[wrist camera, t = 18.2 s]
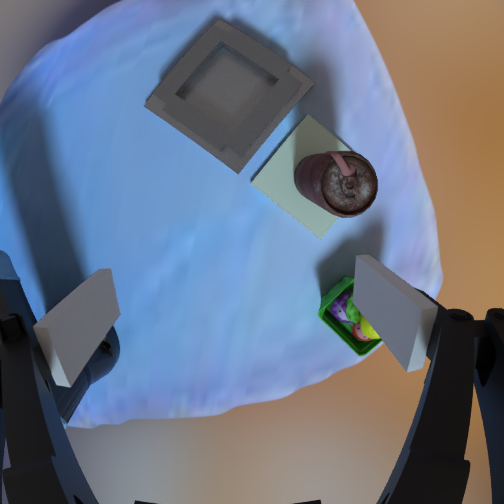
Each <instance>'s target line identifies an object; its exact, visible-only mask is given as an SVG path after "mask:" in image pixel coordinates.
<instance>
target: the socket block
mask: <svg viewBox="0 0 504 504" xmlns="http://www.w3.org/2000/svg"><path fill="white" fill-rule="evenodd" d="M313 84H314V82H313V81H312V80H310V79H309V78H308V77H307V76H305V75H304V74H303V73H301V72H300V71H299V70H297V69H296V68H295V67H293V66H292V65H290V64H289V63H288V62H286V61H285V60H283V59H282V58H281V57H279V56H278V55H276V54H275V53H273V52H272V51H270V50H269V49H267V48H266V47H264V46H263V45H261V44H260V43H258V42H257V41H255V40H253V39H252V38H250V37H249V36H247V35H245V34H244V33H242V32H240V31H239V30H237V29H235V28H234V27H232V26H230V25H229V24H227V23H225V22H223V21H221V20H220V19H219V20H218V21H217V22H216V23H215V24H214V25H212V26H211V27H210V28H209V29H208V30H207V31H206V32H205V33H204V34H203V35H202V36H201V37H200V38H199V39H198V41H197V42H196V43H195V44H194V45H193V46H192V47H191V48H190V49H189V50H188V51H187V53H186V54H185V55H184V56H183V57H182V58H181V59H180V61H179V62H178V63H177V64H176V65H175V66H174V68H173V69H172V70H171V71H170V72H169V74H168V75H167V76H166V77H165V78H164V80H163V81H162V82H161V83H160V85H159V86H158V87H157V88H156V90H155V91H154V92H153V94H152V96H151V97H150V98H149V100H148V101H147V102H146V104H145V105H144V107H146V108H147V109H149V110H150V111H152V112H153V113H154V114H156V115H157V116H159V117H160V118H162V119H163V120H165V121H166V122H167V123H169V124H170V125H172V126H173V127H174V128H176V129H177V130H179V131H180V132H182V133H183V134H184V135H186V136H187V137H189V138H190V139H191V140H193V141H194V142H195V143H197V144H198V145H200V146H201V147H202V148H204V149H205V150H206V151H208V152H209V153H211V154H212V155H213V156H215V157H216V158H217V159H219V160H220V161H221V162H223V163H224V164H225V165H227V166H228V167H229V168H231V169H232V170H233V171H235V172H236V173H237V174H239V173H240V172H241V170H242V169H243V168H244V166H245V165H246V164H247V163H248V161H249V160H250V159H251V158H252V156H253V155H254V154H255V153H256V152H257V150H258V149H259V148H260V147H261V145H262V144H263V143H264V142H265V141H266V139H267V138H268V137H269V136H270V134H271V133H272V132H273V131H274V130H275V129H276V127H277V126H278V125H279V124H280V123H281V121H282V120H283V119H284V118H285V117H286V115H287V114H288V113H289V112H290V111H291V110H292V108H293V107H294V106H295V105H296V104H297V103H298V102H299V100H300V99H301V98H302V97H303V96H304V95H305V94H306V92H307V91H308V90H309V89H310V88H311V87H312V86H313Z"/></svg>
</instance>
